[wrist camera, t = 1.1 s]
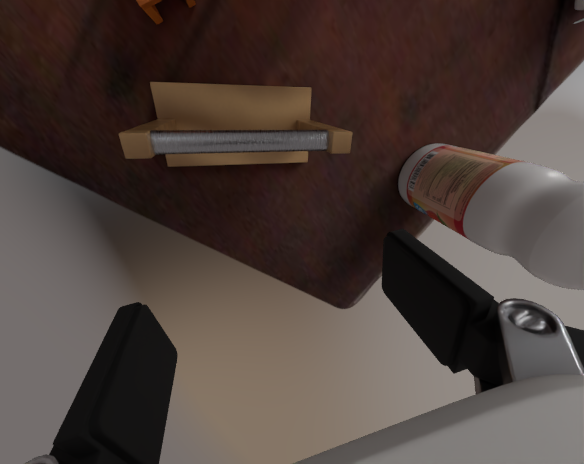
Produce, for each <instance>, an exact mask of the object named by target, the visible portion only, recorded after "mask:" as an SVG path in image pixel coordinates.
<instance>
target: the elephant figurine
mask: <svg viewBox="0 0 584 464" xmlns="http://www.w3.org/2000/svg"><path fill="white" fill-rule="evenodd" d="M575 10H584V0H575ZM581 21H584V18H583V19H581V20H579V21H577V22H575V23H578V22H581ZM575 23H573V24H575Z"/></svg>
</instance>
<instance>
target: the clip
mask: <svg viewBox="0 0 584 464" xmlns="http://www.w3.org/2000/svg"><path fill="white" fill-rule="evenodd" d="M136 1H137V3H138V4H139V6H140V7H141V8H142V9H143V10H144V11H145V12H146V13H147V14H148V16H149V17H150V18H151V19H152V20H153V21H154V22H155V23H156V24H159V23H161V22H163V19H162V17H161V16H160V14H159V12H158V10H157V8H156V6H155V5H154V4H156V3H158V2H160V1H162V0H136ZM185 1H186V3H187V5H188V7H189V8H190V7H192V6H194V5H196V3H195V0H185Z"/></svg>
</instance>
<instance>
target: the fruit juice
mask: <svg viewBox="0 0 584 464" xmlns="http://www.w3.org/2000/svg"><path fill="white" fill-rule="evenodd" d="M398 188H399V192H400V195H401V197H402V198H403V199H404V201H406V202H407V203H408V204H409V205H411V206H412V207H414V208H416V209H418V210H419V211H421V212H423V213H424V214H426V215H428V216H430V217H431V218H433V219H435V220H437V221H438V222H440V223H442V224H443V225H445V226H447V227H448V228H450V229H452V230H454V231H455V232H457V233H459V234H461V235H462V236H464V237H466V238H467V239H469V240H470V241H472V242H474V243H476V244H477V245H479V246H481V247H483V248H485V249H487V250H489V251H491V252H494V253H497V254H500V255H506V256H510V257H513V258H515V259H516V260H517V261H518V262H519V263H520V264H521V265H522V266H523V267H524V268H525V269H526V270H527V271H528V272H530V273H531V274H532V275H534V276H535V277H537V278H539V279H541V280H543V281H545V282H547V283H549V284H552V285H555V286H559V287H562V288H568V289H577V290H584V182H579V181H574V180H572V179H571V178H569V177H568V176H567V175H565V174H564V173H562V172H560V171H558V170H555V169H552V168H549V167H545V166H542V165H538V164H534V163H530V162H525V161H519V160H515V159H510V158H506V157H501V156H497V155H492V154H488V153H483V152H479V151H474V150H470V149H465V148H460V147H456V146H451V145H447V144H430V145H427V146H424V147H422V148H420V149H419V150H417V151H416V152H414V153H413V154H412V155H411V156H410V157H409V158H408V160H407V161H406V162H405V164H404V166H403V168H402V170H401V172H400V175H399V180H398Z"/></svg>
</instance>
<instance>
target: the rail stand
mask: <svg viewBox="0 0 584 464" xmlns="http://www.w3.org/2000/svg"><path fill="white" fill-rule="evenodd" d="M150 86H151V90H152V95H153V100H154V104H155V109H156V114H157V118H158V119H157V120H154V121H151V122H149V123H146V124H143V125H140V126H137V127H135V128H132V129H129V130H126V131H124V132H121V133H119V138H120V141H121V144H122V148H123V151H124V155H125V158H126V159H142V158H152V157H153V156H155V155H157V154H165V156H166V160H167V165H168V167H178V166H208V165H239V164H269V163H299V162H308V151H328V152H329V153H331V154H338V153H350V147H351V140H352V132H351V131H347V130H344V129H340V128H337V127H333V126H329V125H326V124H322V123H319V122H315V121H312V120H310V105H311V88H310V87H283V86H255V85H227V84H199V83H172V82H150Z"/></svg>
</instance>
